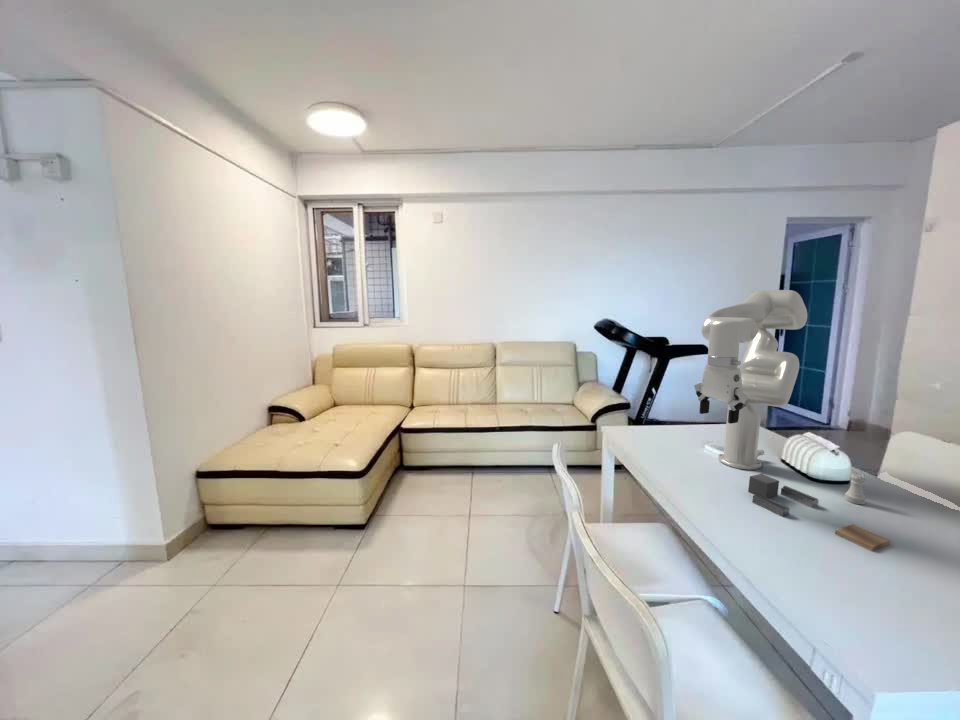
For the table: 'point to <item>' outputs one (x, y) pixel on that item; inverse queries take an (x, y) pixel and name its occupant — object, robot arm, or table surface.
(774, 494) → the dark gray cube
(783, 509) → the metal bars
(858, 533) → the pad
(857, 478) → the rook chess piece
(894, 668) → the table surface
